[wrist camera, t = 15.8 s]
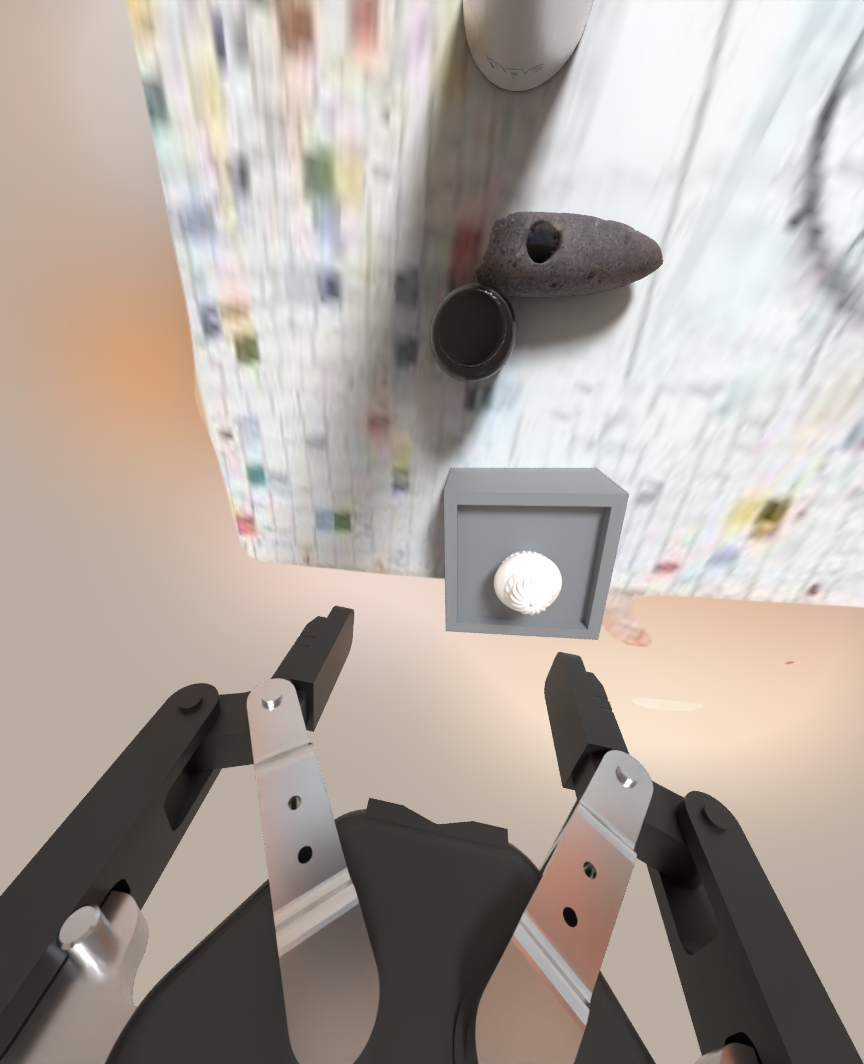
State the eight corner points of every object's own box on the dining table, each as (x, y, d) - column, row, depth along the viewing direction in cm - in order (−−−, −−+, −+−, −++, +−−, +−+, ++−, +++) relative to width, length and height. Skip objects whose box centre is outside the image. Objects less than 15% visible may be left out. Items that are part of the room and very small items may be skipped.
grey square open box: (450, 467, 40) (443, 492, 32) (595, 467, 38) (629, 493, 30) (451, 584, 47) (445, 631, 38) (575, 589, 45) (598, 639, 37)
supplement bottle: (522, 321, 33) (543, 296, 23) (490, 392, 36) (495, 399, 25) (456, 290, 33) (446, 249, 22) (429, 364, 36) (408, 360, 25)
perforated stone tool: (654, 237, 30) (701, 201, 24) (635, 309, 32) (673, 293, 26) (479, 231, 31) (479, 194, 25) (472, 300, 33) (471, 283, 27)
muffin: (485, 544, 35) (488, 582, 29) (548, 531, 34) (565, 566, 27) (499, 595, 37) (504, 640, 31) (558, 584, 36) (576, 628, 30)
